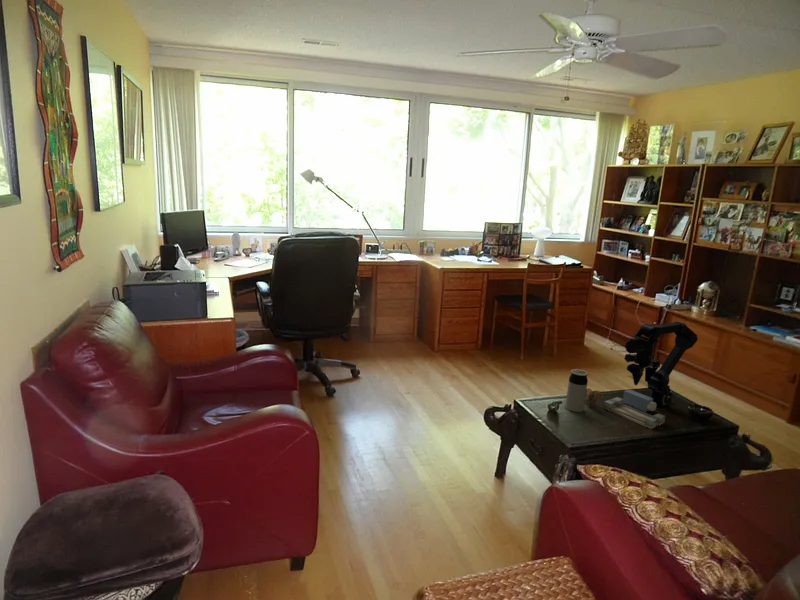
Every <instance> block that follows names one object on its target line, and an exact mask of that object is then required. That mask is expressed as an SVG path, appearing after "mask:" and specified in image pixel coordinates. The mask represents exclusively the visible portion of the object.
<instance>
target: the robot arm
mask: <svg viewBox="0 0 800 600" xmlns="http://www.w3.org/2000/svg"><path fill="white" fill-rule="evenodd" d="M667 334H674V335H675V338H674V346H673V348H672V349H671V351H670V352H669V354H668V355H667V357H666V358H665V360H664V361H663V363H662V365H661V362H660V361H659V360H656V359H654V357H655V354H654V350H655V349H654V348H655V344H656V343H659V340H658V338H661V336H663V335H667ZM698 339H699V338H698V335H697V333H695V332H694V331H693V330H692V329H691V328H689V327H688V325H687V324H686V323H684V322H680V321H674V322H668V323H662V324H661V323H660V324H652V323H644V324H641V327H639V329H638V331H637V332H636V333H635V335H634V337H631V338H629V340H628V341H626V343H625V346H624V347H625V350H626V352H627V353H626V354H625V355H624V358H623V359H624V361H625V362H626V363H631V364H629V365H627V366H626V371H628V372H629V373H630V374H631V376H632V380H633V384H634V386H638V385H639V383H640V381H641V378H642V377H643V375H644V381H645V382H646V383H647V388H648V390H651V395H650V397H651V398H653V402H655V403H656V404H657V406H656V407H659V408H661V407H663V406H666V405H667V402H665V397H666V396H669V395H670V394H671V392H672V390H671V388H670V386H669V384H670V375H671V373H672V372H673V370H674V369H675V367H677V364H678V363H679V361H680V360H681V358H682V357H683V355H684V354H685V352H686V351H688V350H689V349H691V348H693V347H694V345H696V343H697V342H698ZM644 371H645V372H644Z"/></svg>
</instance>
